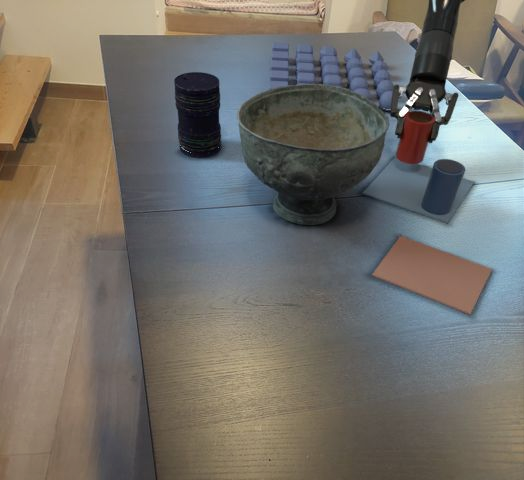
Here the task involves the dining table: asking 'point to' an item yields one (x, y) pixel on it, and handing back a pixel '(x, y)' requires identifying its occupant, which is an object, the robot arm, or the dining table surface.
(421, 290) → the rose mat
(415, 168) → the blue mat
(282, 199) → the decorative bowl
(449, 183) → the blue pot
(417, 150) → the red pot
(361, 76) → the blocks
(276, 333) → the dining table surface
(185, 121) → the storage jar
